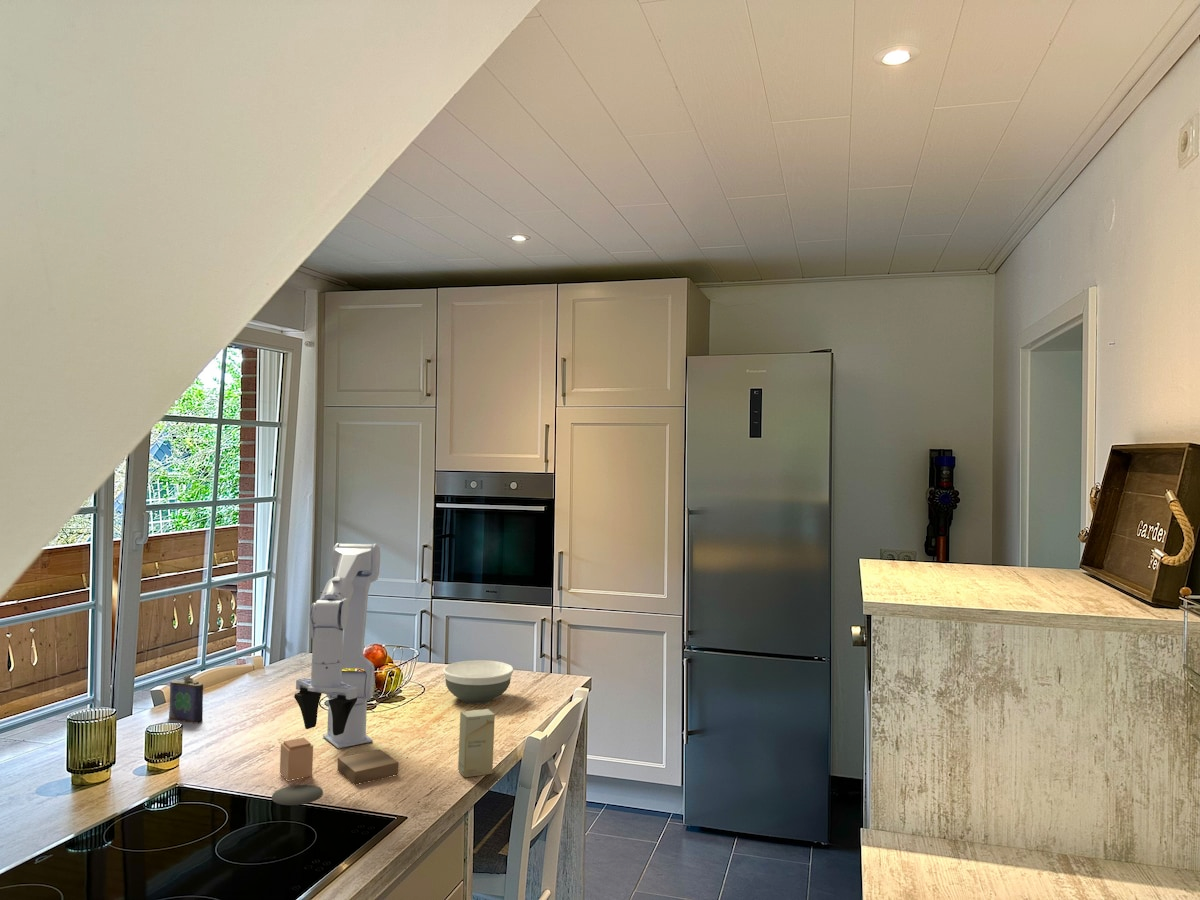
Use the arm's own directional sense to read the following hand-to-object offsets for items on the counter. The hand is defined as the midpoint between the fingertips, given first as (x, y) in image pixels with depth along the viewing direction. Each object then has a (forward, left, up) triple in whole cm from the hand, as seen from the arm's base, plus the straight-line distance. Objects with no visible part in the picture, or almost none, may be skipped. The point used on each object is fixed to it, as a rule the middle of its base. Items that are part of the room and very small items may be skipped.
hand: (324, 730), depth 161 cm
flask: (-54, -13, -10) cm, 56 cm away
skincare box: (+13, +27, -10) cm, 31 cm away
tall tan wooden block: (-6, -3, -10) cm, 12 cm away
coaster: (+4, -6, -10) cm, 13 cm away
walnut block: (+1, +9, -10) cm, 13 cm away
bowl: (-31, +53, -10) cm, 62 cm away
